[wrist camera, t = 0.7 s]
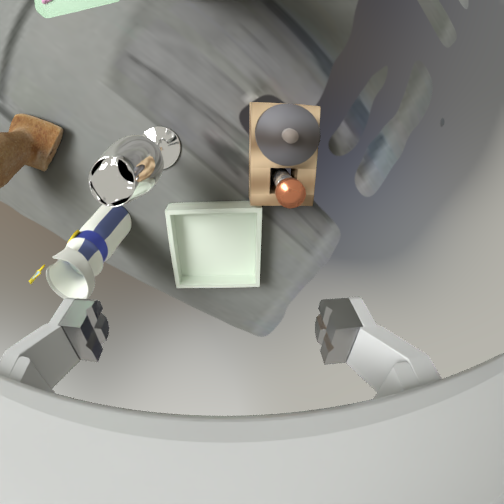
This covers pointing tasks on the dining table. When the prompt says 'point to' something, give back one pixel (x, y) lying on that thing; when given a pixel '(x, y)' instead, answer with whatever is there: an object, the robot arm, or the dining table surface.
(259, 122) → the block
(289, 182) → the lock pin
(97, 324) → the robot arm
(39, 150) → the brown l-shaped piece
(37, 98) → the dining table surface
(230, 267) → the tray
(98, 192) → the wineglass
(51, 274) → the water bottle
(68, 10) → the plant
